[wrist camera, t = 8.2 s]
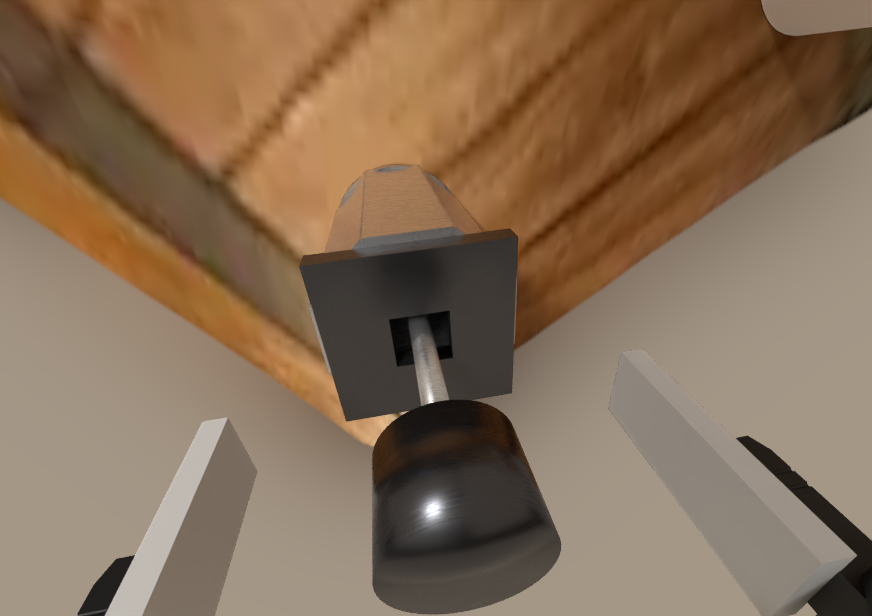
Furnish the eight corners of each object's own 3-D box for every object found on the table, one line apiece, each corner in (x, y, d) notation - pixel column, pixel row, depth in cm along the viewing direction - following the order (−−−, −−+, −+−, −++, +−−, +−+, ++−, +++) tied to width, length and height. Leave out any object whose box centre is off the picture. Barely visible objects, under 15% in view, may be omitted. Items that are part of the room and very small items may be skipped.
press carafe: (323, 172, 26) (277, 253, 13) (456, 157, 27) (533, 220, 14) (357, 318, 32) (348, 466, 20) (463, 302, 33) (520, 435, 21)
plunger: (345, 206, 23) (279, 520, 6) (447, 194, 24) (632, 451, 7) (364, 296, 27) (353, 653, 10) (453, 283, 27) (586, 600, 10)
